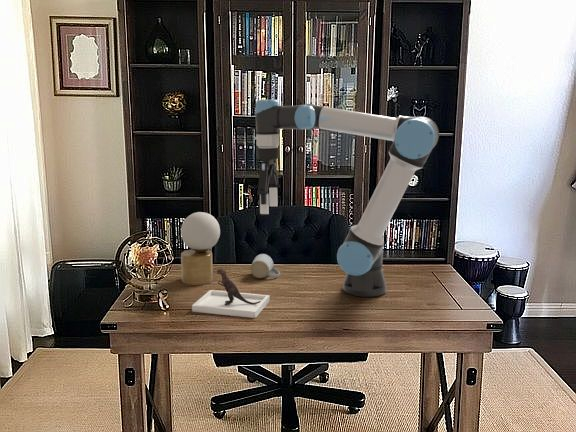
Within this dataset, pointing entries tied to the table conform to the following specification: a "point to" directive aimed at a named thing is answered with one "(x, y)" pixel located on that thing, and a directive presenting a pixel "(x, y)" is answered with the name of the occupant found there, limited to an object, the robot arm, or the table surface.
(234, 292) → the dinosaur model
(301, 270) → the table surface
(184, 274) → the lamp
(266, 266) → the ceramic mug
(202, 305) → the tray
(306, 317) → the table surface
